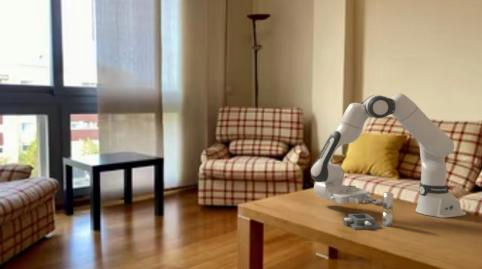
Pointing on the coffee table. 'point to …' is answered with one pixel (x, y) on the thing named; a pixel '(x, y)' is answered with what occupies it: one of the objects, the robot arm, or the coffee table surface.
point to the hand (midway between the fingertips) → (365, 200)
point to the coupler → (387, 209)
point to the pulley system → (372, 201)
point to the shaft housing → (361, 221)
